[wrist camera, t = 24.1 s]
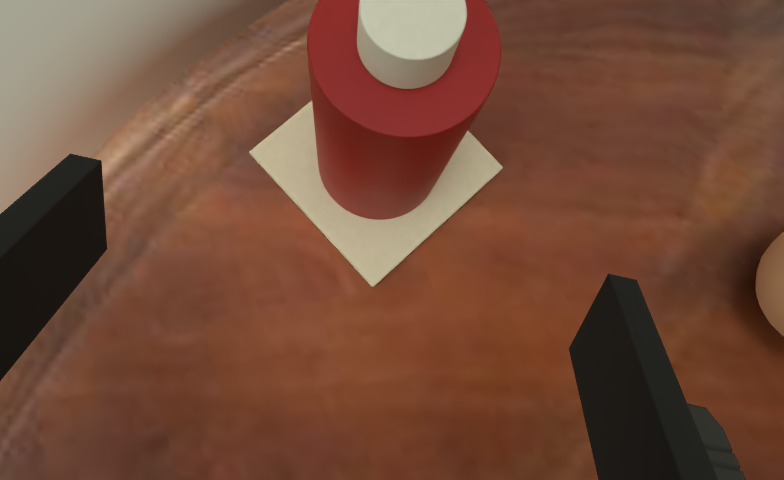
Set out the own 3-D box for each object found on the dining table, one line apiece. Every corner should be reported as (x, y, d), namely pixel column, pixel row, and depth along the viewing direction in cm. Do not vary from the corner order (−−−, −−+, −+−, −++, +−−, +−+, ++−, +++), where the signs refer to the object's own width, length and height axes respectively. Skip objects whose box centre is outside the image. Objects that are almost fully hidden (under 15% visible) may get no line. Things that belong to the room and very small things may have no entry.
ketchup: (292, 155, 30) (257, -5, 17) (382, 81, 31) (418, -127, 18) (375, 244, 30) (408, 156, 16) (462, 166, 31) (563, 20, 17)
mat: (250, 154, 31) (248, 151, 30) (382, 45, 32) (383, 41, 32) (372, 287, 30) (373, 287, 30) (501, 169, 32) (503, 167, 31)
